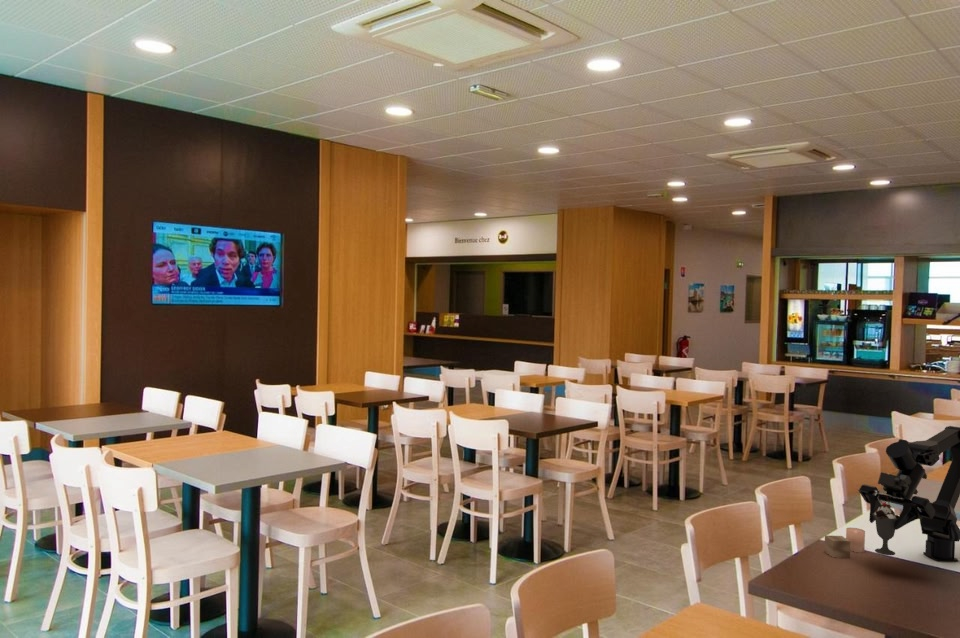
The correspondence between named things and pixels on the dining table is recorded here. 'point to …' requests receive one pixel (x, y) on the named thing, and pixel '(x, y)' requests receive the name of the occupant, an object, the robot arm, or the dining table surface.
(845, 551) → the walnut block
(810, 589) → the dining table surface
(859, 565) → the dining table surface
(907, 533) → the dining table surface
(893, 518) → the sundae
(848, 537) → the pink block
